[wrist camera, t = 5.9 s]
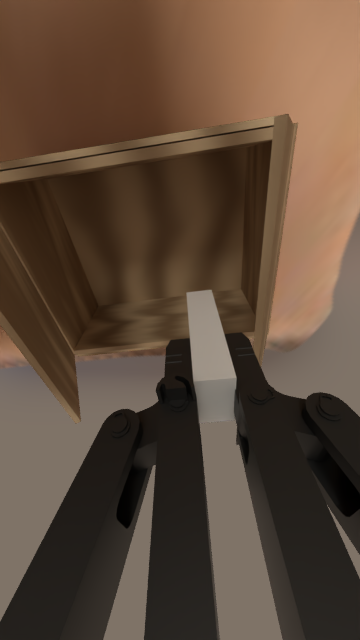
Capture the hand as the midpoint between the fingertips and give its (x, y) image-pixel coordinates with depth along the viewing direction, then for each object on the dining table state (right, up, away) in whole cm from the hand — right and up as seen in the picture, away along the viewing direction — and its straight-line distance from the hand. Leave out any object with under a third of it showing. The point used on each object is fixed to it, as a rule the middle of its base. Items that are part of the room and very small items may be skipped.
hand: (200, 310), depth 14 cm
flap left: (-14, +2, +6) cm, 16 cm away
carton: (-4, +9, +14) cm, 17 cm away
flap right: (+7, +5, +5) cm, 10 cm away
